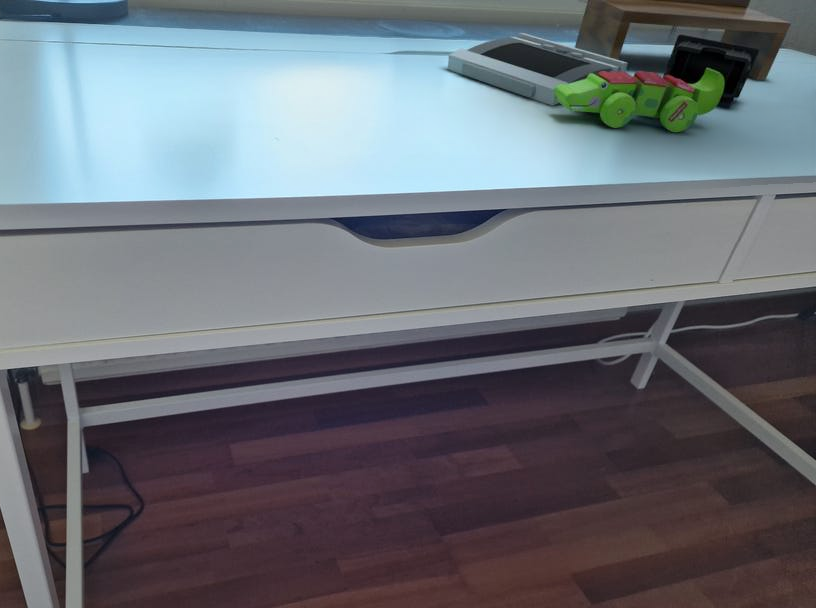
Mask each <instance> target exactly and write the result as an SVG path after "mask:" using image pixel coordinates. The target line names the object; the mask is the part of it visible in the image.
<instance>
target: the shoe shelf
mask: <svg viewBox="0 0 816 608" xmlns="http://www.w3.org/2000/svg"><path fill="white" fill-rule="evenodd" d="M750 3H751V0H587V2H586V6H585V9H584V13H583V17H582V20H581V24H580V27H579V31H578V34H577V37H576V41H575V44H574V45H575V46H574V48H577V49H581V50H584V51H588V52H591V53H595V54H599V55H602V56H606V57H609V58H613V59H616V60H620V56H621V53H622V49H623V46H624V44H625V40H626V37H627V34H628V32H629V28H630V25H631V24H640V25H653V26H654V25H655V26H668V27H682V28H696V29H697V28H698V29H709V30H722V31H724V32H723V33H722V36H721V38H720V41H719V42H724V43H730V44H735V45H741V46H746V47H751V48H757V49H759V53H758V55H757V57H756V59H755V62H754V64H753V66H752V68H751V71H750V73H749V75H748V78H751V79H754V80H755V81H766V80H767V78H768V75H769V74H770V71H771V69H772V67H773V64H774V62H775V61H776V58H777V55H778V53H779V52H780V49H781V47H782V45H783V42H784V40H785V38H786V36H787V34H788V32H789V29H790V28H791V25H792V23H791V22H790V21H787V20H783V19H781V18H778V17H775V16H772V15H769V14H766V13H763V12H761V11H757V10H755V9H752V8H749V6H750Z"/></svg>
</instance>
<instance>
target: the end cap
mask: <svg viewBox="0 0 816 608" xmlns="http://www.w3.org/2000/svg"><path fill="white" fill-rule="evenodd" d="M758 53H759V49H757V48H751V47H746V46H741V45H735V44H730V43H724V42H720V41H719V40H714V39H708V38H702V37H698V36H697V37H695V36H691V35H687V34H679V35H677V37H676V40H675V43H674V45H673V48H672V51H671V53H670V56H669V59H668V62H667V64H666V67H665V70H664V73H663V75H662V78H663V77H664V76H665V75H670V76H672V77H674V78H676V79H680V80H682V81H684V82H685V83H687V84H695V83H697V82H698V81H700V79H701V78H702V77H703V75H704V73H705V70H706V68H710V69H712V70H714V71H717V72H719V73H721V74H722V76H723V77H724V82H725V85H724V91H723V94H722V96H721V99H720V101H719V103H718V105H717V106H716V107H718V108H722V109H731V108H732V105H733V102H734V100H735V99H739V98H740V96H741V94H742V91H743V89H744V87H745V84H746V82H747V79H748V78H749V76H748V75H749V73H750V71H751V68H752V66H753V64H754V62H755V59H756V57H757V55H758Z"/></svg>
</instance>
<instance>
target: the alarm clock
mask: <svg viewBox="0 0 816 608" xmlns="http://www.w3.org/2000/svg"><path fill="white" fill-rule="evenodd" d="M628 64H629V63H628V61H627V62H626V61H623V60H620V59H618V60H616V59H613V58H609V57H606V56H602V55H599V54H595V53H591V52H588V51H584V50H581V49H577V48H575V46H570V45H566V44H562V43H559V42H556V41H553V40H548V39H545V38H541V37H538V36H535V35H531V34H528V33H524V32H517V35H516V36H509V37H508V38H497V39H493V40H489V41H486V42H483V43H480V44H477V45H474V46H473V47H470V48H468V49H464V48H460V49H458V50H456V51H453V52H451V53H449V54H448V61H447V70H449V71H451V72H454V73H457V74H460V75H463V76H466V77H469V78H471V79H474V80H477V81H480V82H483V83H486V84H489V85H490V86H491V85H492V86H494V87H497V88H500V89H503V90H506V91H508V92H512V93H514V94H518V95H520V96H523V97H526V98H529V99H532V100H534V101H537V102H541V103H543V104H545V105H549V106H551V107H553V106H555V105H558V104H560V103H559V102H558V101H557V96H556V95H555V93H554V89H555V87H556V86H557V85H558V84H570V83H573V82H577V81H580V80H584V79H586V78H587V76H588V75H589V74H590V73H593V74H595V75H597V74H598V73H599V72H601V71H606V72H610V71H615V72H619V71H623V72H626V70H627V67H628Z"/></svg>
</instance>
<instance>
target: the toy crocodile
mask: <svg viewBox="0 0 816 608" xmlns="http://www.w3.org/2000/svg"><path fill="white" fill-rule="evenodd" d="M724 85H725V82H724V77H723V76H722V74H721V73H719V72H717V71H714V70H712V69H710V68H706V70H705V73H704V75H703V77H702V78H701V79H700V81H698V82H697V83H695V84H687V83H685V82H684V81H682V80H680V79H676V78H674V77H672V76H670V75H665V76H664V77H663V76H661V75H660V74H658V73H657V72H654V71H651V72H646V71H644V70H638V71H635V72H634V74H633V75H631V74H630V73H628V72H626V71H625V72H623V71H619V72H615V71H610V72H606V71H601V72H599V73H598V74H597V75H595V74H593V73H590V74H589V75H588V76H587V78H586V79H584V80H580V81H577V82H573V83H570V84H558V85H557V86H556V87H555V89H554V93H555V95H556V96H557V101H558V102H559V103H558V104H560V105H562V106H563V107H565V108H566V109H568V111H570V112H585V113H586V112H587V113H591V114H599V116H600V119H601V120H600V121H602V123H604V124H605V125H607V126H608V127H610V128H613V129H618V128H621V127H624V126H625V125H627V124H628V123H630V121H631V120H632V118H633V117H634V116H643V117H649V118H652V119H659V120H660V124H661V126H662V127H663V128H665V129H666V130H668V131H669V132H672V133H680V132H683V131H685V130H687V129H688V128H690V127H691V126H692V125H693V124H694V123H695V121H696V120H697V117H698V116H703V115H706V114H708V113H710V112H712V111H713V110H715V108H717V107H718V106H717V105H718V103H719V101H720V99H721V96H722V94H723V91H724Z"/></svg>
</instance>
